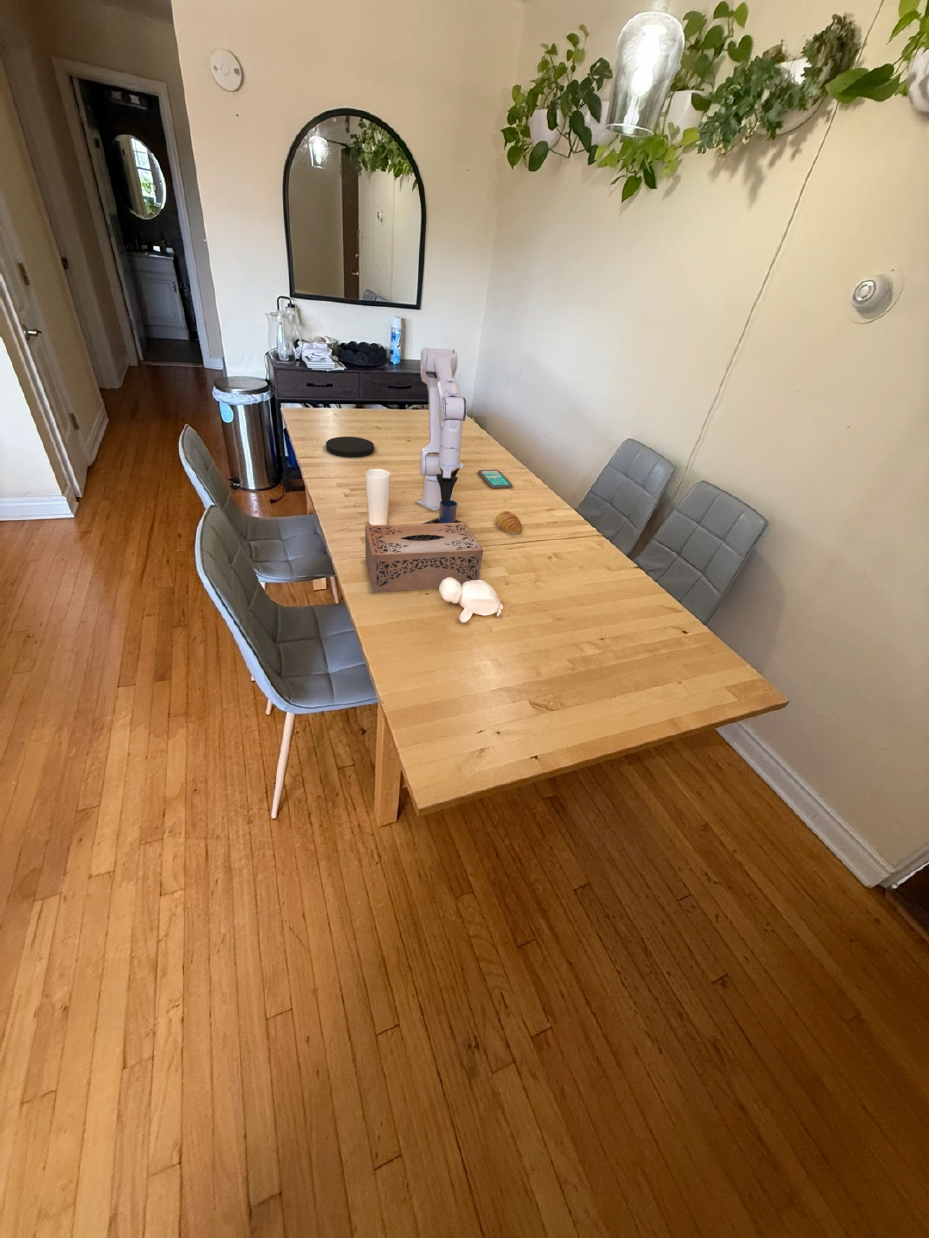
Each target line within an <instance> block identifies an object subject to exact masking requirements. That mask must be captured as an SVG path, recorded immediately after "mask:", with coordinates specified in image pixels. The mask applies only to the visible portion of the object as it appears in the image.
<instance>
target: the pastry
mask: <svg viewBox="0 0 929 1238" xmlns="http://www.w3.org/2000/svg"><path fill="white" fill-rule="evenodd" d="M495 523H496V525H497V527H498V528H500V529H501V530H503V531H505V532H507V533H509V534H510V535H515V534H516V535H517V534H520V533H521V532H522V531H523V527H522V523H521V520H520V519H519V517H518V516H517V515H516V514H515V513H512V512H511V511H508V510H504V511H501V512H500V513H498V514H497V516H496V517H495Z"/></svg>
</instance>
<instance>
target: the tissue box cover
mask: <svg viewBox="0 0 929 1238" xmlns="http://www.w3.org/2000/svg"><path fill="white" fill-rule="evenodd" d="M364 540H365V541H364V545H365V547H364V548H365V551H364V552H365V565H366V569H367V572H368V577H369V582H370V586H371V590H372V594H374V593H389V592H407V591H420V590H435V589H436V590H437V589H438V590H439V586H440V584H441V582H442V581H443V580H444V579H446V578H448V577H452V578H454V579H456V580H457V581H458V582H459V583H460V584H461V586H462V584H463V583H465V582H467V581H471V580H480V575H481V568H482V561H483V554H484V549H483V547H482V546H481V543H479V541H478V539H477V537H476V536H475V534H474V532H473V531H472V529H471V527H470V526H469V524H468V522H463V523H434V524H422V523H408V524H407V523H403V524H386V525H371V524H370V525H369V524H368V525H366V524H365V525H364Z"/></svg>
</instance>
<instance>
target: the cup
mask: <svg viewBox="0 0 929 1238" xmlns="http://www.w3.org/2000/svg"><path fill="white" fill-rule="evenodd" d="M458 506H459V505H458V502H457V501H456V500H454V499H453V500H450V501H449V502H448V501H440V506H439V509H438V517H439V519H438V523H456V519H457V517H458V516H457V515H458Z"/></svg>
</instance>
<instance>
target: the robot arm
mask: <svg viewBox="0 0 929 1238" xmlns="http://www.w3.org/2000/svg"><path fill="white" fill-rule="evenodd" d="M458 360H459V359H458V352H457V350H456V349H453V348H452V349H446V348H445V349H444V348H435V347H434V348H433V347H427V346H423V347H422V349H421V351H420V378H421V382H423V383H424V384H425V385H426V386H427V390H428V391H427V392H428V444H427V445H425V446H424V447H422V448H421V450H420V452H419V454H420V456H419V474H420V475H421V477H423V487H422V488H423V491H422V499H418V500H416V503H418V504H420V505H422V506H423V507H426V508H428V509H430V510H432V511H437V510H439V506H440V501H448V502H449V501H450V500H453V501H454V490H455V485H456V483H457V482H458V480H459V476H457V475H458V473H459V470H461V469H460V468H462V469H463V468H464V467H465V463H463V462H461V451H462V439H463V426H464V422H465V421H466V419H467V413H468V404H467V403H468V402H467V398H466V397H465V396H464V395H462V394H461V390H460V387H459V383H458V381H457V380H456V379H455V375H456V372H457V369H458Z"/></svg>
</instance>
